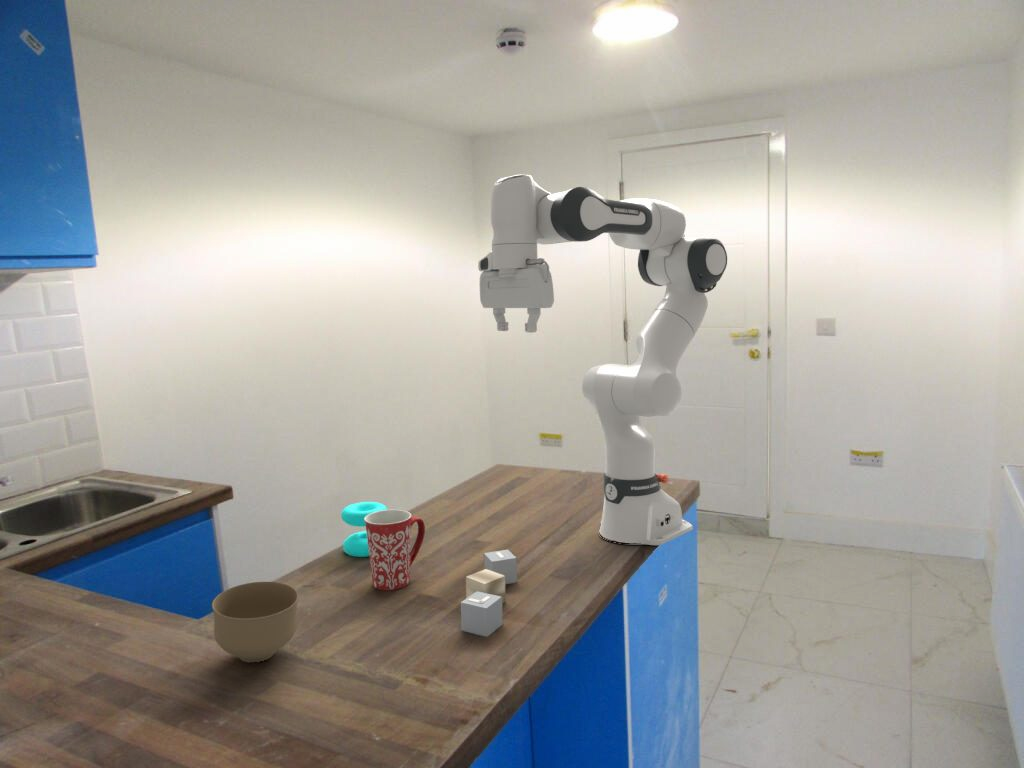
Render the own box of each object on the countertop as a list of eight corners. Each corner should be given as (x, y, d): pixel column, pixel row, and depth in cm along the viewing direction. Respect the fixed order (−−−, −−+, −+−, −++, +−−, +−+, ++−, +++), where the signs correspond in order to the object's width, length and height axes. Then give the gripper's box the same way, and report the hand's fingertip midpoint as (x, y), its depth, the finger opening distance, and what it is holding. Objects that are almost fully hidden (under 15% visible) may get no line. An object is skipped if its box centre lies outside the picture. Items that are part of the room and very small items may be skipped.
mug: (382, 596, 134) (379, 526, 133) (359, 583, 141) (355, 516, 140) (438, 578, 143) (436, 512, 141) (413, 566, 149) (410, 502, 148)
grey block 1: (477, 618, 125) (476, 590, 124) (502, 624, 122) (501, 596, 121) (461, 631, 120) (460, 601, 120) (487, 637, 118) (486, 607, 117)
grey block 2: (508, 573, 145) (507, 548, 144) (517, 582, 140) (516, 557, 139) (484, 577, 143) (483, 552, 142) (492, 586, 138) (491, 561, 138)
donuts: (395, 502, 161) (371, 515, 152) (397, 545, 162) (373, 561, 153) (357, 498, 165) (331, 511, 155) (360, 541, 166) (333, 555, 157)
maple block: (486, 594, 135) (485, 568, 134) (505, 602, 131) (504, 575, 130) (466, 603, 131) (465, 576, 130) (485, 611, 128) (484, 584, 127)
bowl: (253, 686, 104) (248, 620, 103) (198, 664, 111) (193, 602, 110) (318, 649, 115) (315, 589, 114) (265, 631, 122) (261, 574, 120)
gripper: (561, 257, 134) (562, 332, 135) (499, 263, 150) (500, 329, 152) (534, 257, 130) (535, 334, 132) (473, 262, 147) (475, 331, 148)
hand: (516, 331), depth 142 cm, fingers open, 8 cm apart
